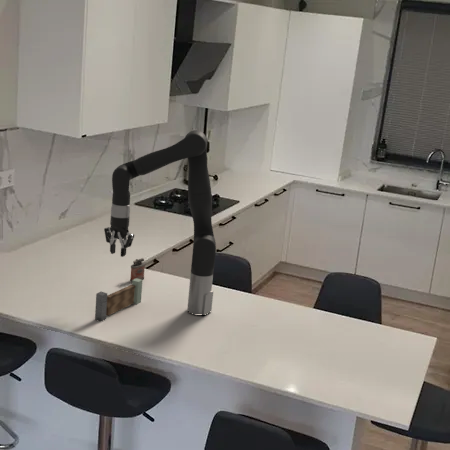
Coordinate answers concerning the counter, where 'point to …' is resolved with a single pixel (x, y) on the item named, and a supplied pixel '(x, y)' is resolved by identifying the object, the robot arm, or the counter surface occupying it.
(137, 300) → the latch post
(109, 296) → the gate
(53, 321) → the counter surface
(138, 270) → the lighter
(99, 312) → the hinge post
